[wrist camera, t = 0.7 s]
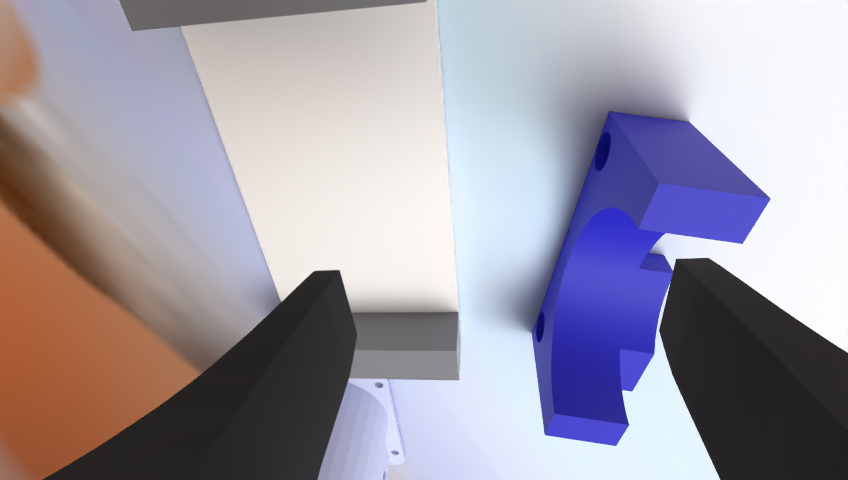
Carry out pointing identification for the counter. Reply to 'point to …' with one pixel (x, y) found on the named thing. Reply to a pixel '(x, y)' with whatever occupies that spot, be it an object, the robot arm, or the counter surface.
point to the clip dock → (339, 157)
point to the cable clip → (627, 265)
